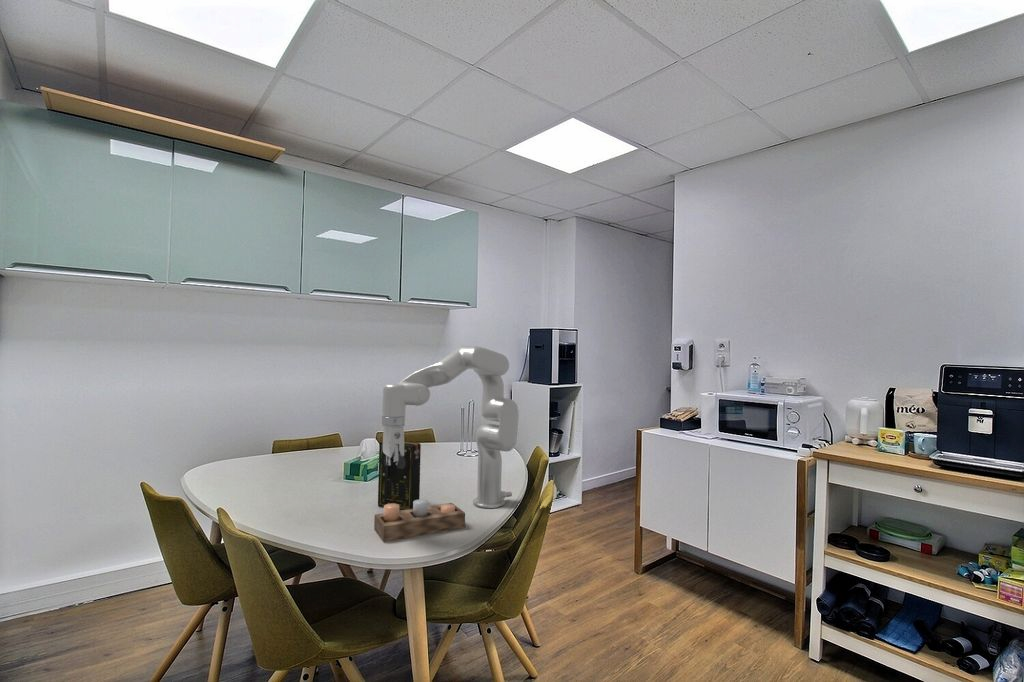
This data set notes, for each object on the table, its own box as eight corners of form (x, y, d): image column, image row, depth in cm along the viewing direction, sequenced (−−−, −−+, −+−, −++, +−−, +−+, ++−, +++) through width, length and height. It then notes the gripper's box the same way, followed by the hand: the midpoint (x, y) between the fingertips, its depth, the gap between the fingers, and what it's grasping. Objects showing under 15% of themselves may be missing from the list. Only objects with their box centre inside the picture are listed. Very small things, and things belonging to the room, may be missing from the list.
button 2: (451, 517, 170) (451, 503, 170) (456, 521, 166) (457, 507, 166) (438, 519, 168) (438, 505, 168) (443, 524, 163) (443, 509, 163)
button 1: (396, 517, 160) (396, 502, 160) (400, 522, 156) (401, 507, 156) (381, 519, 158) (382, 504, 158) (385, 524, 153) (386, 509, 154)
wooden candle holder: (451, 516, 174) (451, 502, 174) (464, 527, 163) (465, 512, 164) (374, 529, 160) (374, 514, 160) (383, 542, 150) (383, 526, 150)
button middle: (424, 512, 165) (425, 498, 165) (429, 517, 161) (430, 502, 161) (410, 515, 163) (411, 500, 163) (415, 519, 158) (415, 504, 158)
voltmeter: (375, 507, 182) (376, 442, 183) (388, 500, 190) (389, 438, 191) (410, 513, 177) (411, 445, 177) (422, 506, 185) (423, 441, 185)
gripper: (411, 424, 153) (409, 481, 152) (398, 418, 166) (396, 470, 165) (388, 425, 149) (385, 483, 148) (376, 418, 162) (374, 473, 161)
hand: (391, 476), depth 157 cm, fingers closed
